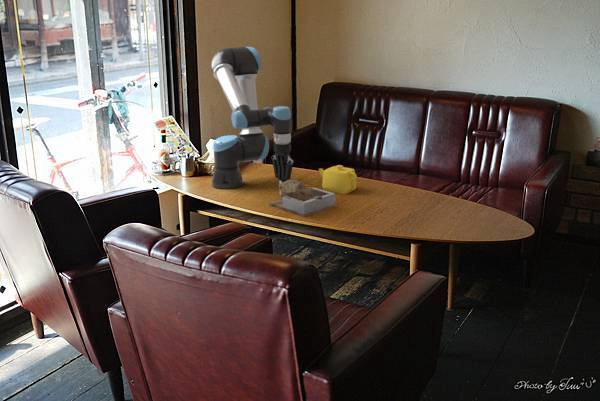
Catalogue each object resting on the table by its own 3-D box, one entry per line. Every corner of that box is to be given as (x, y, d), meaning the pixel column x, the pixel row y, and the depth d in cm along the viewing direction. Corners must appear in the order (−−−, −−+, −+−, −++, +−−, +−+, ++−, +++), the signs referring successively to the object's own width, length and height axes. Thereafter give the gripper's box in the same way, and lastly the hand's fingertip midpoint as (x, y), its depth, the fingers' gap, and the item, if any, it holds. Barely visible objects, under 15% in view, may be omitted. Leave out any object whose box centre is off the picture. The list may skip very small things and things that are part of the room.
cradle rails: (282, 207, 275) (282, 195, 273) (313, 197, 288) (313, 186, 286) (305, 214, 266) (305, 202, 264) (336, 204, 278) (336, 192, 277)
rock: (291, 194, 272) (304, 178, 277) (271, 191, 281) (283, 175, 285) (302, 212, 278) (314, 195, 283) (282, 208, 287) (294, 192, 291)
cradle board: (268, 205, 282) (268, 202, 281) (299, 196, 294) (299, 193, 294) (304, 217, 267) (304, 214, 266) (335, 206, 279) (335, 204, 279)
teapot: (312, 189, 304) (312, 165, 301) (325, 183, 314) (326, 159, 311) (349, 196, 294) (350, 171, 290) (362, 189, 304) (363, 165, 300)
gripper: (265, 141, 282) (267, 192, 290) (286, 146, 274) (286, 199, 281) (278, 138, 287) (279, 189, 295) (298, 143, 279) (299, 195, 286)
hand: (282, 194), depth 288 cm, fingers closed
